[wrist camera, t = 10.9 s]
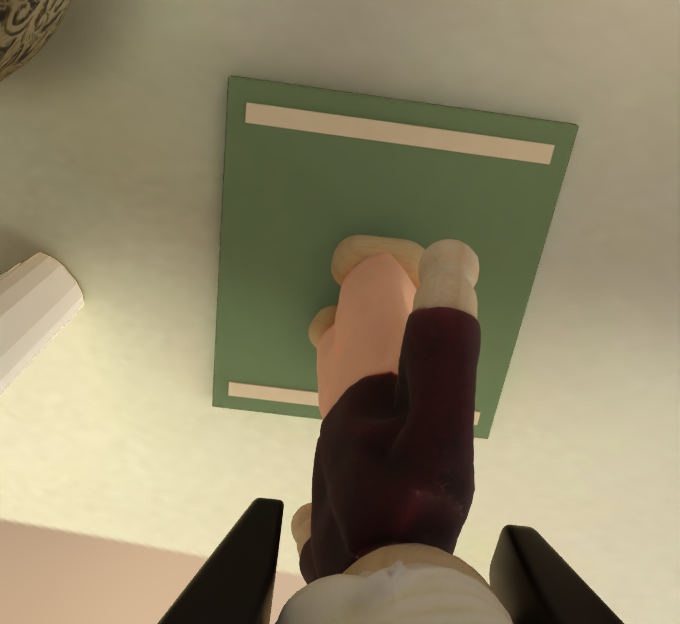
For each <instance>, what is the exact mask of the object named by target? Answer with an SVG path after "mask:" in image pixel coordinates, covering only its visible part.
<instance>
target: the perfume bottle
mask: <svg viewBox="0 0 680 624" xmlns="http://www.w3.org/2000/svg"><path fill="white" fill-rule="evenodd" d="M83 306H84V300H83V294H82V291H81V289H80V287H79V285H78V283H77V281H76V280H75V279H74V278H73V277H72V275H71V274H70V273H69V272H68V271H67V269H66V268H65V267H64V266H63V265H62V264H61V263H59V262H58V261H57V260H56V259H54V258H53V257H50V256H48V255H46V254H43V253H41V252H38V253H37V254H35V255H33V256H32V257H30V258H29V259H27V260H26V261H24V262H23V263H18V264H17V265H15V266H14V267H12V268H10V269H9V270H7V271H6V272H4V273H3V274H1V275H0V395H1V394H2V393H3V392H4V391H5V390H6V388H7V387H8V386H9V385H10V384H11V383H12V382H13V381H14V380H15V379H16V378H17V377H18V376H19V374H20V373H21V372H22V371H23V370H24V369H25V368H26V367H27V366H28V365H29V364H30V363H31V362H32V360H33V359H34V358H35V357H36V356H37V355H38V354H39V353H40V352H41V351H42V350H43V349H44V348H45V346H46V345H47V344H48V343H49V342H50V341H51V340H52V339H53V338H54V337H55V336H56V335H57V334H58V332H59V331H60V330H61V329H62V328H63V327H64V326H65V325H66V324H67V323H68V322H69V321H70V320H71V319H72V317H73V316H74V315H75V314H76V313H77V312H78V311H79V310H80V309H81V308H82V307H83Z"/></svg>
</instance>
